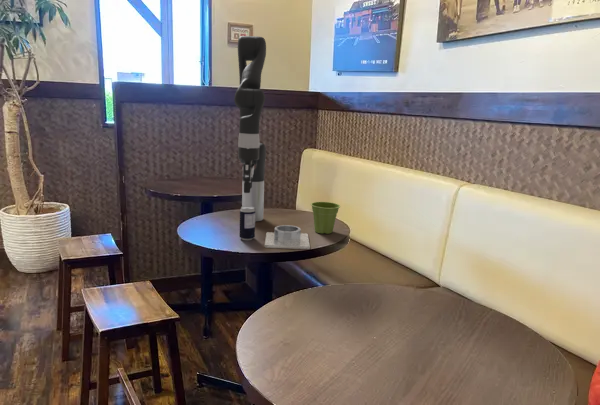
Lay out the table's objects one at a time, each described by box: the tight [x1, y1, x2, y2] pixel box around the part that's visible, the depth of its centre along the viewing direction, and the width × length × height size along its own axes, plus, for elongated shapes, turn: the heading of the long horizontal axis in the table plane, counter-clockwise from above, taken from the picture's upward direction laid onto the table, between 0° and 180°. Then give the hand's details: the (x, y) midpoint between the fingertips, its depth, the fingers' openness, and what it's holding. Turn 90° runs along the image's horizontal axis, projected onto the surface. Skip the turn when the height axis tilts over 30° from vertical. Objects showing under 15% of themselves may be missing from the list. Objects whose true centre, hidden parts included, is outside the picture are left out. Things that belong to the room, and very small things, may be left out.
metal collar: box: [264, 224, 311, 250], centre depth 168 cm, size 16×16×5 cm
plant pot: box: [310, 201, 341, 235], centre depth 183 cm, size 12×12×11 cm
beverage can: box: [239, 206, 256, 241], centre depth 169 cm, size 6×6×12 cm
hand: (247, 190), depth 166 cm, fingers open, 8 cm apart
